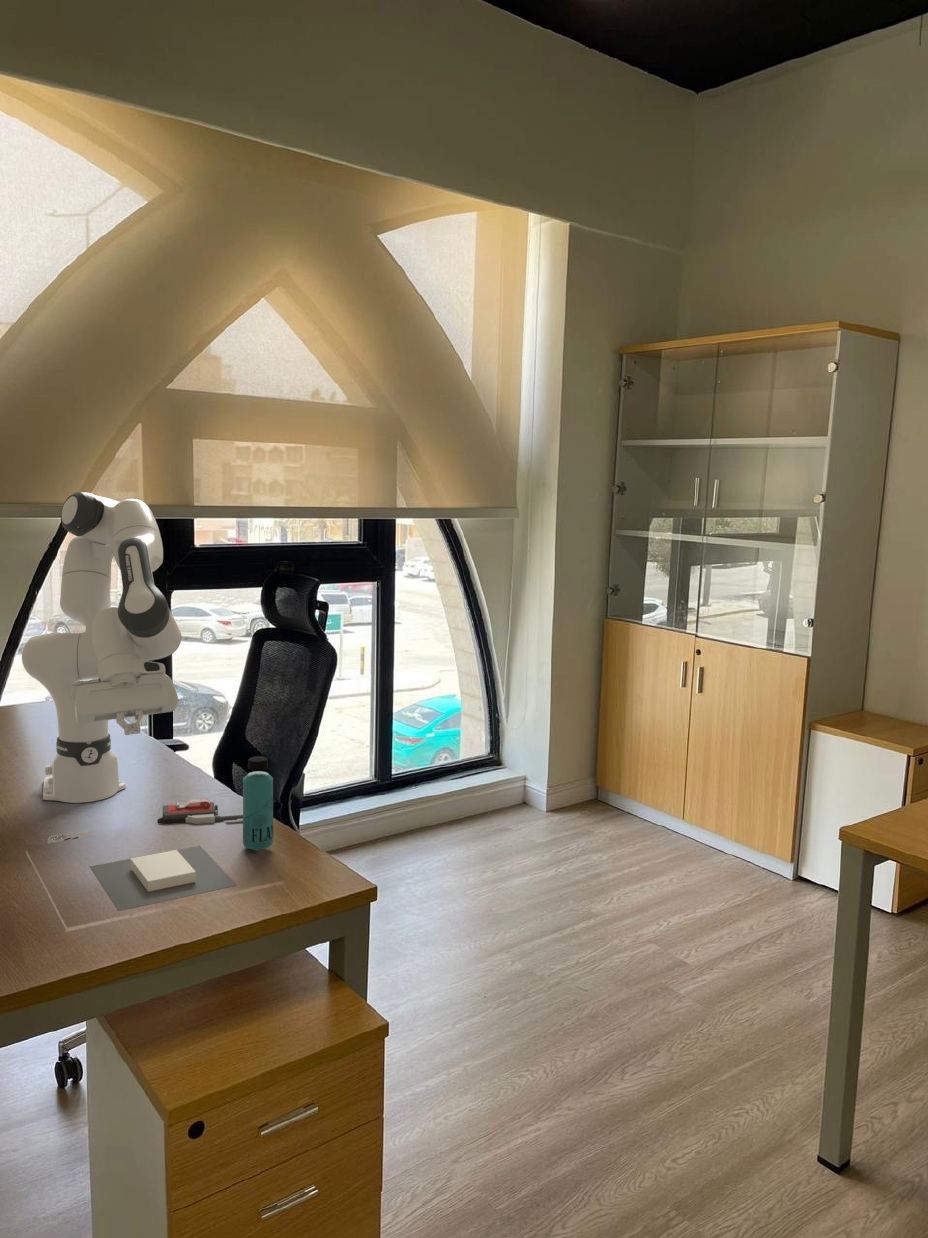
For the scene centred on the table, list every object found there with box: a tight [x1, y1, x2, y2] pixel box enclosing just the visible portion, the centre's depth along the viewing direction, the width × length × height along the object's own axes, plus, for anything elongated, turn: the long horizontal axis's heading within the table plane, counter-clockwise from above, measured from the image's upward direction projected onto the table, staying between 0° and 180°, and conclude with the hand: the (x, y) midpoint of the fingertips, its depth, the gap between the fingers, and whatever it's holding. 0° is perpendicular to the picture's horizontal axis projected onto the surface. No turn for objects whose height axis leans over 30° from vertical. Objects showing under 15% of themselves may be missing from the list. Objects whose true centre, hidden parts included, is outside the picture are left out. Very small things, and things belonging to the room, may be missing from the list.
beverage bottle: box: [242, 755, 275, 850], centre depth 201 cm, size 6×7×20 cm
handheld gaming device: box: [47, 831, 93, 844], centre depth 201 cm, size 9×1×15 cm
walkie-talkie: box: [157, 798, 243, 825], centre depth 219 cm, size 9×4×20 cm
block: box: [130, 849, 196, 892], centre depth 187 cm, size 2×9×12 cm
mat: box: [89, 845, 238, 912], centre depth 187 cm, size 22×22×1 cm
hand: (133, 733), depth 197 cm, fingers closed
